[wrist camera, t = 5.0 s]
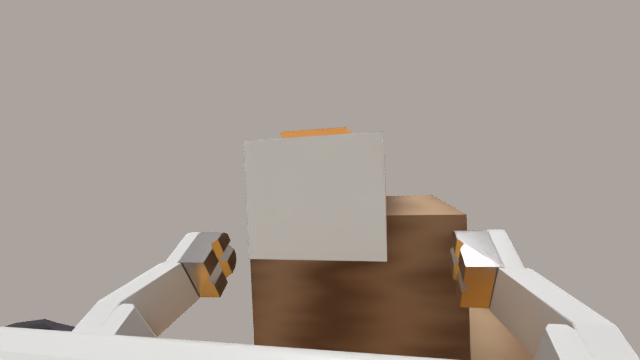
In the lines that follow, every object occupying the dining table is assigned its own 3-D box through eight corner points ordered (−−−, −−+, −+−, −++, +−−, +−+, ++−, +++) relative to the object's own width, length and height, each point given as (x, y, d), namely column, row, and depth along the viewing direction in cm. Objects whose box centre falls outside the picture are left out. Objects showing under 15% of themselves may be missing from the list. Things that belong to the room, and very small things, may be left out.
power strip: (386, 193, 32) (384, 156, 32) (387, 261, 8) (381, 121, 8) (347, 194, 33) (345, 158, 33) (249, 259, 9) (242, 132, 9)
